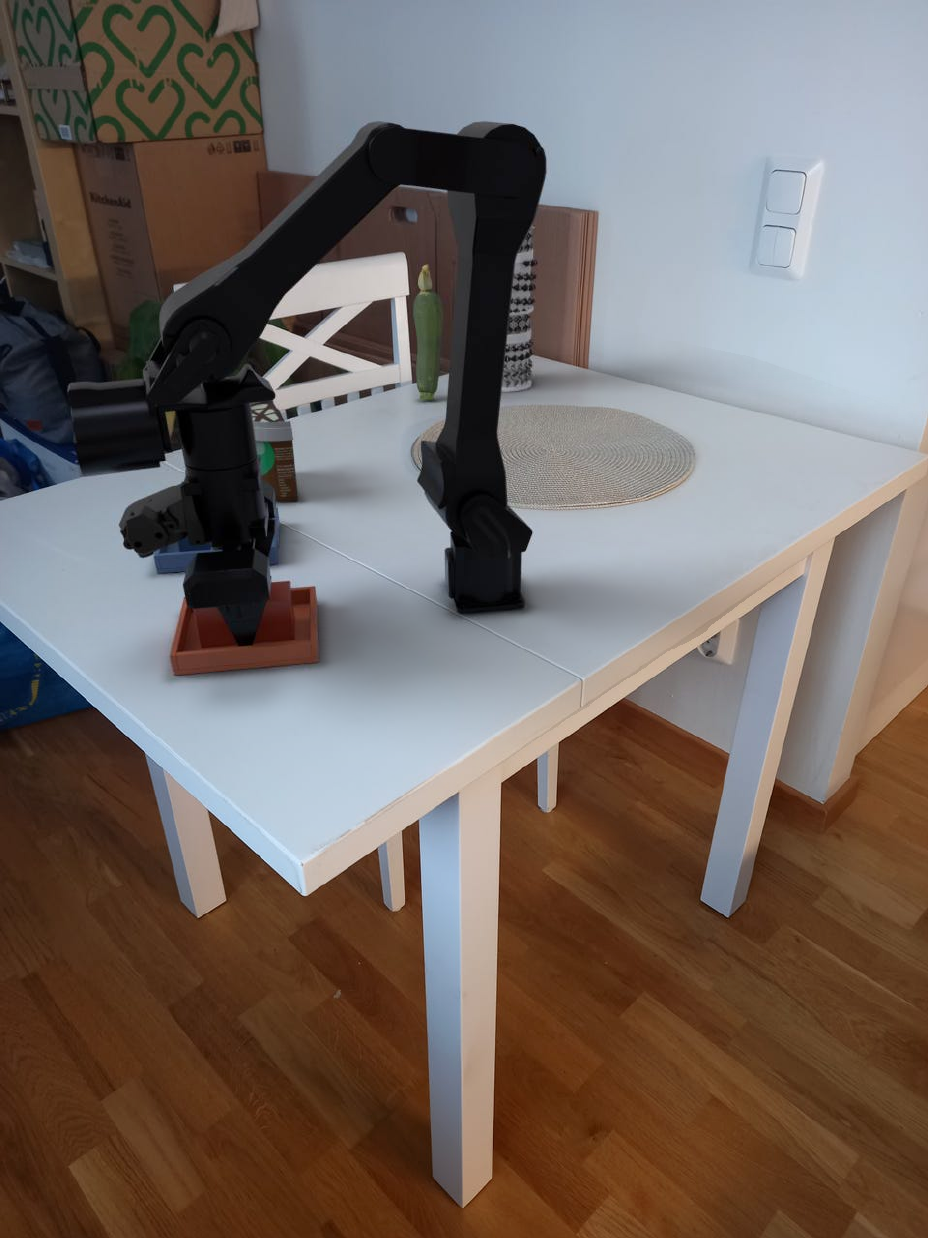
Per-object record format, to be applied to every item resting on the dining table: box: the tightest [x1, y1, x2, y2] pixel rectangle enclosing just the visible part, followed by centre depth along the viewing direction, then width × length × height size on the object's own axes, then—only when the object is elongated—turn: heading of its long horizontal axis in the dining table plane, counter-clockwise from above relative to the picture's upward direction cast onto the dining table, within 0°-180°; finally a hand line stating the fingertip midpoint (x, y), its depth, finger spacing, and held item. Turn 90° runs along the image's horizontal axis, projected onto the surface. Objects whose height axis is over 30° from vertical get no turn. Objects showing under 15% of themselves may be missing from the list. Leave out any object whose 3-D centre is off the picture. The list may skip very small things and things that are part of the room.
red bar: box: [194, 580, 295, 648], centre depth 78 cm, size 8×4×4 cm, turn 99°
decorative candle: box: [501, 225, 539, 393], centre depth 139 cm, size 9×9×25 cm
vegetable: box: [412, 264, 444, 402], centre depth 133 cm, size 4×4×20 cm
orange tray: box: [169, 585, 320, 676], centre depth 79 cm, size 12×10×2 cm
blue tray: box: [152, 507, 281, 574], centre depth 95 cm, size 12×10×2 cm
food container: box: [251, 400, 299, 503], centre depth 106 cm, size 12×6×10 cm, turn 21°
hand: (248, 625), depth 79 cm, fingers open, 7 cm apart
